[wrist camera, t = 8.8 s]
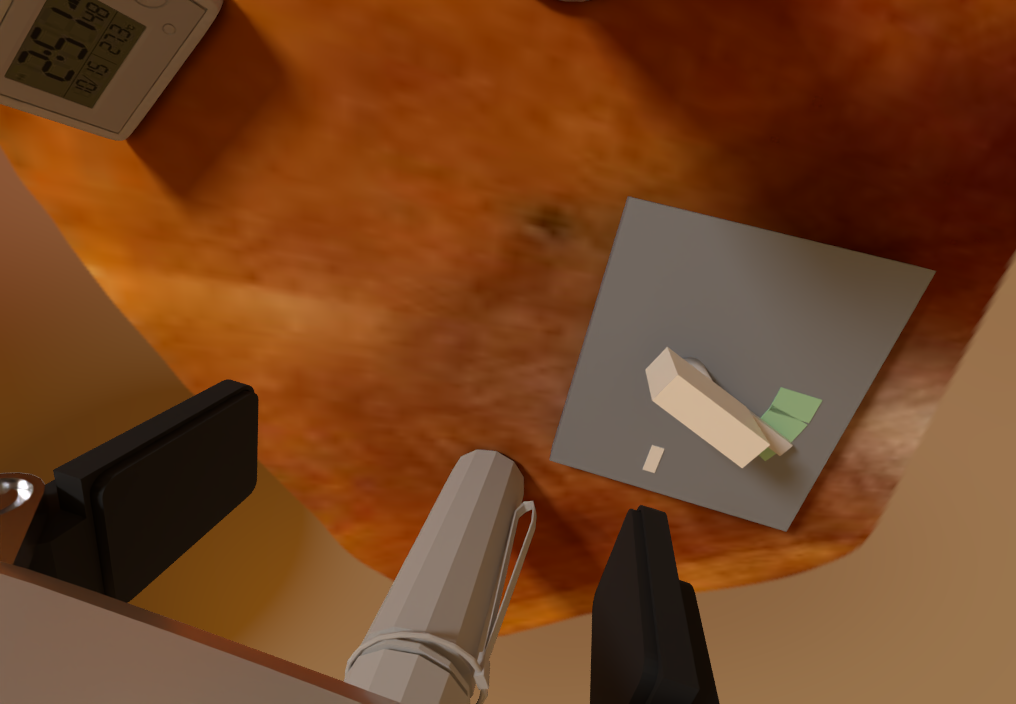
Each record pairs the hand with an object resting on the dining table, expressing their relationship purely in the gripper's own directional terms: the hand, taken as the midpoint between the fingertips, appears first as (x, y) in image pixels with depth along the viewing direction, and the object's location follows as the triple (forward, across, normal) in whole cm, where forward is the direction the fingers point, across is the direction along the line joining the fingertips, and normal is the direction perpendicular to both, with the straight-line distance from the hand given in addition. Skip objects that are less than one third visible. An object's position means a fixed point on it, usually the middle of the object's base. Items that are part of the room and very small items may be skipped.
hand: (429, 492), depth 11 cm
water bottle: (+28, 0, +20) cm, 35 cm away
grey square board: (+28, -14, +4) cm, 32 cm away
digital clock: (+29, +35, -9) cm, 46 cm away
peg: (+26, -15, +5) cm, 30 cm away
